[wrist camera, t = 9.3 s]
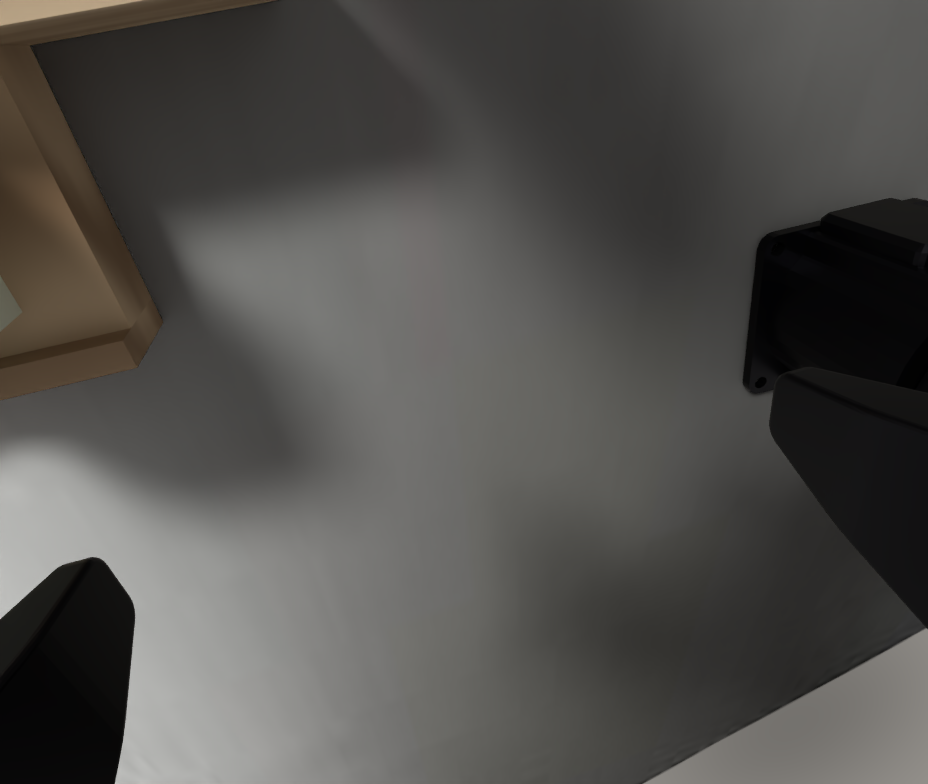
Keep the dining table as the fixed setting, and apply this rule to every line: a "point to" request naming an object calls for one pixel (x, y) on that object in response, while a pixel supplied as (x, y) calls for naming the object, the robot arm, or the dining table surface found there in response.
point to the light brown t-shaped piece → (65, 210)
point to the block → (7, 306)
